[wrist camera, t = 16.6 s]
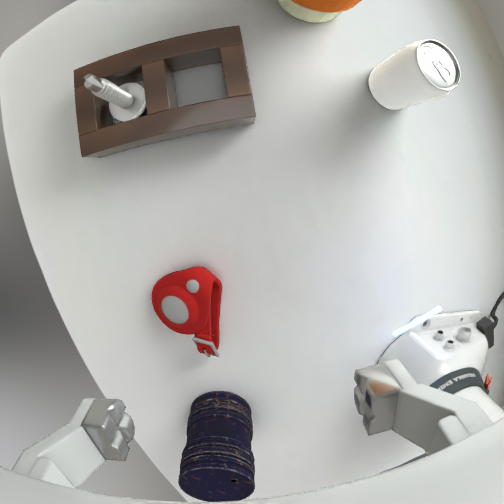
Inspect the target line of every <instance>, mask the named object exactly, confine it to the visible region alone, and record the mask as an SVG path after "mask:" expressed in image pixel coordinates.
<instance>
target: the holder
mask: <svg viewBox="0 0 504 504" xmlns="http://www.w3.org/2000/svg"><path fill="white" fill-rule="evenodd" d="M218 62H222V67H223V73H224V79H225V84H226V90H227V96H228V98H223V99H218V100H212V101H207V102H202V103H197V104H192V105H187V106H183V107H178V105H177V98H176V91H175V84H174V77H173V72H174V71H178V70H183V69H187V68H192V67H197V66H202V65H207V64H212V63H218ZM87 74H92V75H94V76H96V77H98V78H104V79H107V80H109V81H110V82H112V83H113V84H115V85H117V86H118V87H120V86H121V85H123V84H126V83H133V82H136V81H140V80H143V82H144V91H145V99H146V107H147V114H148V115H146V116H142V117H138V118H135V119H131V120H128V121H124V122H121V123H118V124H114V125H113V122H112V114H111V112H110V109H109V102H108V101H106V100H104V99H102V98H99V97H97V96H95V95H94V94H93V93H92V92H91V90H89V89H87V88H86V87H85V86H84V83H85V81H86V79H84V77H85V76H86V75H87ZM74 87H75V102H76V114H77V124H78V132H79V140H80V148H81V155H82V157H97V158H101V157H104V156H107V155H111V154H114V153H118V152H121V151H125V150H128V149H132V148H136V147H140V146H144V145H147V144H151V143H156V142H160V141H164V140H168V139H173V138H177V137H182V136H186V135H191V134H196V133H201V132H206V131H211V130H217V129H222V128H228V127H234V126H240V125H247V124H253V123H254V121H255V117H256V114H255V108H254V102H253V96H252V91H251V85H250V80H249V74H248V68H247V63H246V58H245V52H244V47H243V42H242V36H241V31H240V26H232V27H225V28H219V29H213V30H207V31H202V32H197V33H192V34H187V35H183V36H178V37H174V38H170V39H166V40H162V41H158V42H154V43H151V44H147V45H144V46H140V47H137V48H134V49H130V50H127V51H124V52H121V53H118V54H115V55H112V56H109V57H107V58H104V59H101V60H98V61H96V62H93V63H91V64H88V65H86V66H83V67H81V68H78V69H76V70H74Z"/></svg>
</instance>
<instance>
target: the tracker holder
mask: <svg viewBox="0 0 504 504" xmlns="http://www.w3.org/2000/svg"><path fill="white" fill-rule="evenodd" d="M221 291H222V285H221V282H220V280H218V279H217V278H216V277H215V276H214V275H213V274H212V273H211V272H210V271H208V270H207V269H206V268H204V267H192V268H189V269H186V270H182V271H176V272H173V273H170V274H168V275H166V276H164V277H162V278H161V279H160V280H158V281H157V283H156V284H155V286H154V287H153V291H152V303H153V307H154V310H155V312H156V314H157V316H158V317H159V318H160V320H161V321H162V322H163V323H164V324H165V325H166V326H167V327H169V328H170V329H172V330H173V331H175V332H178V333H181V334H194V335H195V337H193V339H192V340H193V341H194V343H195V344H196V346H197V348H198V351H199V352H200V353H204V354H206V355H207V356H208V357H210V355H213V356H216V357H219V353H218V351H217V350H218V347H219V316H220V303H221ZM212 334H213V335H214V337H213V336H212Z"/></svg>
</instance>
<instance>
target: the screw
mask: <svg viewBox="0 0 504 504" xmlns="http://www.w3.org/2000/svg"><path fill="white" fill-rule="evenodd" d="M84 79H86V81H85V83H84V86H85V87H86V88H87V89H89V90H91V92H92V93H93V94H94V95H95V96H97V97H99V98H102V99H104V100H106V101H108V102H109V109H110V112H111V114H112V116H113V117H114V118H115V119H117V120H119V121H122V122H124V121H128V120H131V119H135V118H138V117H139V116H140V115H141V114H142V113H143V112H144V110H145V108H146V99H145V91H144V88H143V87H142V86H140V85H139V84H137V83H126V84H123V85H121V86H120V87H118V86H117V85H115V84H113V83H112V82H110V81H109V80H107V79H104V78H98V77H96V76H94V75H92V74H87V75H86V76H85V77H84Z"/></svg>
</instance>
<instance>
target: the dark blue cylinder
mask: <svg viewBox="0 0 504 504" xmlns="http://www.w3.org/2000/svg"><path fill="white" fill-rule="evenodd" d="M187 425H188V426H187V443H186V446H185V448H184V450H183V453H182V459H181V464H180V475H179V481H178V483H179V486H180V488H181V489H182V490H183V491H184V492H185V493H186V494H188V495H190V496H192V497H194V498H196V499H199V500H203V501H207V502H222V501H239V500H242V499H245V498H247V497H248V496H250V495H251V494H252V493H253V492H254V489H255V482H254V475H255V466H254V456H253V453H252V451H251V441H252V436H253V425H252V419H251V409H250V406H249V405H248V403H247V402H246V401H245V400H244V399H243V398H241V397H240V396H238V395H235V394H233V393H229V392H224V391H214V392H208V393H205V394H203V395H201V396H199V397H198V398H196V399H195V400H194V402H193V403H192V406H191V412H190V415H189V418H188V424H187Z"/></svg>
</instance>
